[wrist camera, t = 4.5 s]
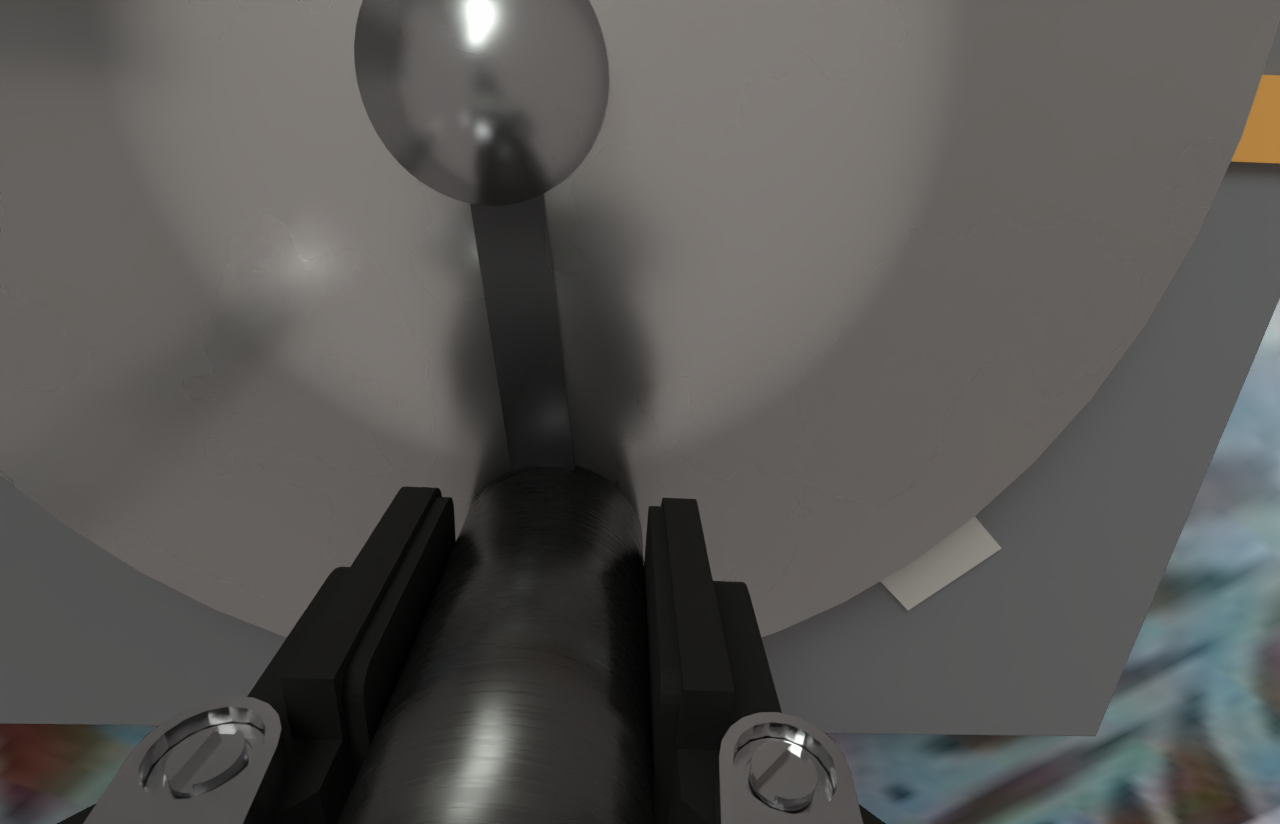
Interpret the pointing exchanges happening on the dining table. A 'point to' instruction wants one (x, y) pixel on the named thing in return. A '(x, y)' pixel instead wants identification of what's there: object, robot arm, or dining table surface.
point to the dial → (576, 309)
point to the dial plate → (854, 630)
